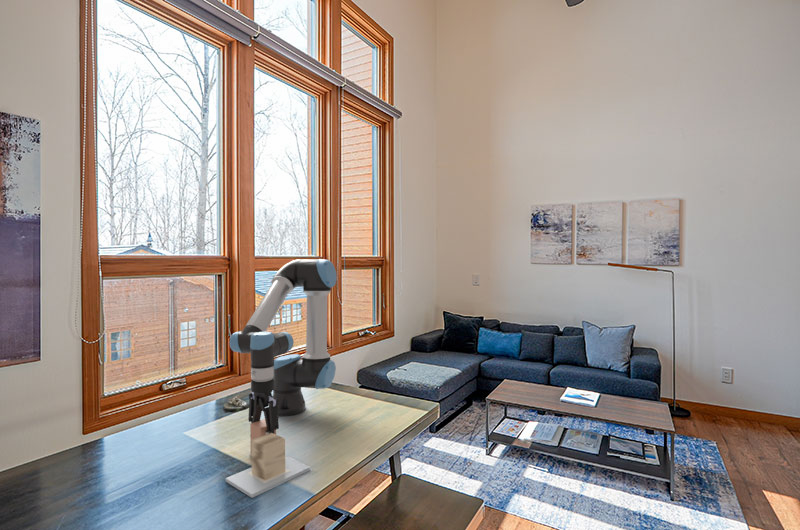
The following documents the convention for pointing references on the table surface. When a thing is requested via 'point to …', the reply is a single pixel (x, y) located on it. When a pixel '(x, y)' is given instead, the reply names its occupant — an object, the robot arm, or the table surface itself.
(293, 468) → the white flat board
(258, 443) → the beech block
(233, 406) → the grey lumpy mound
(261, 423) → the terracotta block
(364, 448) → the table surface
